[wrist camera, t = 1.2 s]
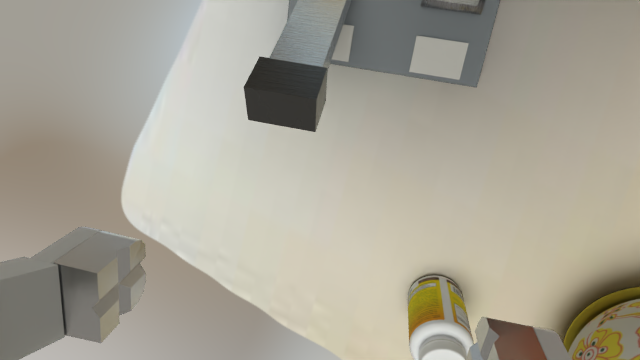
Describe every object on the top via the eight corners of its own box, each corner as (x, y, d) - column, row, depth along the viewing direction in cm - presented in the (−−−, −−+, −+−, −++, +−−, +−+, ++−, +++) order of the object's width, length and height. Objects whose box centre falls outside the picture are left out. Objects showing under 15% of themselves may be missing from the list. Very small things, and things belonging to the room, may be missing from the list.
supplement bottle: (400, 307, 47) (400, 380, 37) (418, 265, 44) (423, 332, 35) (450, 324, 46) (462, 403, 37) (471, 283, 44) (490, 355, 35)
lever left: (364, -33, 32) (320, 100, 23) (361, -2, 34) (318, 132, 25) (307, -41, 33) (240, 86, 23) (307, -10, 35) (245, 119, 25)
